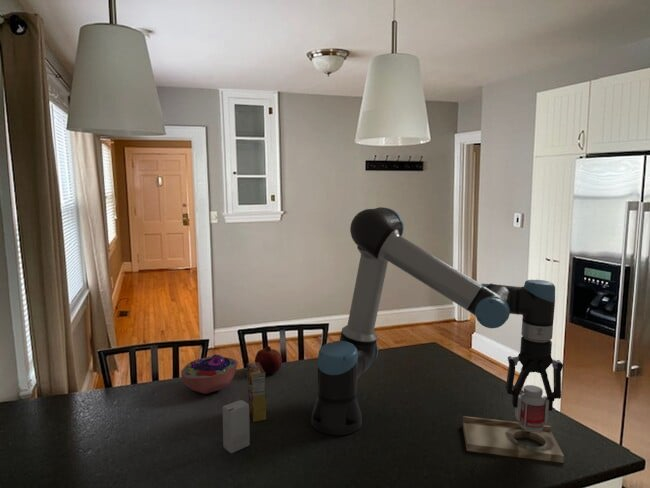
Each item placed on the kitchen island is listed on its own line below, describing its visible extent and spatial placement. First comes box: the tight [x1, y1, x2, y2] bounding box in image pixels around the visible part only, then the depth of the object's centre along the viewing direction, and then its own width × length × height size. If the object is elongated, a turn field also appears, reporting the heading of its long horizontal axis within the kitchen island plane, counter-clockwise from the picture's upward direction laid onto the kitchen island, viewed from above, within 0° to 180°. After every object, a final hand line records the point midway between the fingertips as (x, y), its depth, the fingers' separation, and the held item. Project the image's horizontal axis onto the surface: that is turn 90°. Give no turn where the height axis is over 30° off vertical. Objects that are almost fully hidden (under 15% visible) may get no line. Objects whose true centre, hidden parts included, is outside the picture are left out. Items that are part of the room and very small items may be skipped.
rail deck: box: [462, 415, 565, 464], centre depth 126 cm, size 24×13×3 cm, turn 78°
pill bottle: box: [518, 384, 545, 432], centre depth 123 cm, size 6×6×11 cm
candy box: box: [246, 361, 267, 423], centre depth 139 cm, size 9×4×15 cm, turn 20°
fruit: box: [254, 345, 283, 375], centre depth 171 cm, size 11×10×10 cm
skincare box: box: [221, 399, 251, 454], centre depth 122 cm, size 6×4×12 cm
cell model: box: [180, 354, 239, 395], centre depth 156 cm, size 17×20×11 cm
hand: (530, 419), depth 124 cm, fingers closed on pill bottle, 6 cm apart
